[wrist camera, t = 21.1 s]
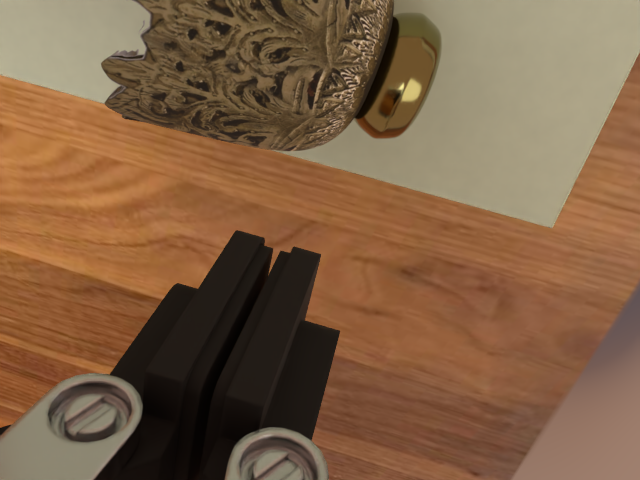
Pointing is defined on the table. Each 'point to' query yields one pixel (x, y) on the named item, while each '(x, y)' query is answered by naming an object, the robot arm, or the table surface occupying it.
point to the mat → (441, 104)
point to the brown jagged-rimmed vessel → (277, 70)
